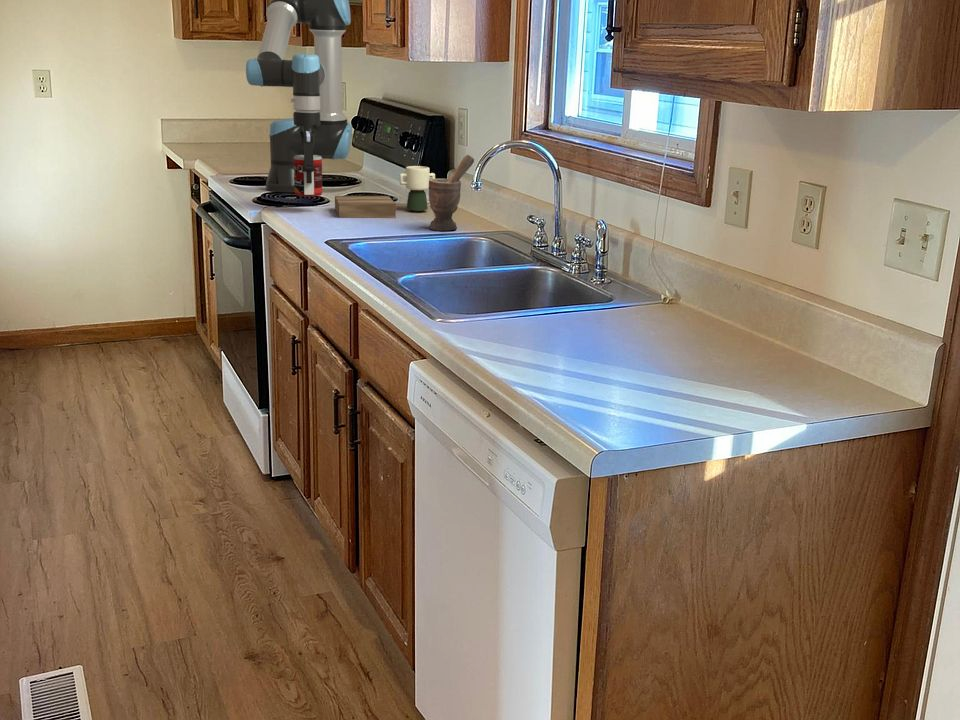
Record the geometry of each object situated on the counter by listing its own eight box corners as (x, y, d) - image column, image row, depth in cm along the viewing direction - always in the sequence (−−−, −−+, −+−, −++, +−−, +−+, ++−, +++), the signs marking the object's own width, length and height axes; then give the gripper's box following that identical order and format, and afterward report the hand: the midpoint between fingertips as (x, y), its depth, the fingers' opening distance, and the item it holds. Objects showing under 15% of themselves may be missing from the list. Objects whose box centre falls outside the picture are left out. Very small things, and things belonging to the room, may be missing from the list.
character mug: (430, 209, 304) (431, 165, 300) (438, 212, 298) (438, 168, 294) (396, 210, 301) (396, 166, 297) (402, 213, 294) (403, 168, 290)
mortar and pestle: (461, 225, 277) (463, 152, 272) (475, 230, 270) (477, 155, 264) (423, 227, 272) (424, 152, 266) (436, 232, 265) (437, 155, 259)
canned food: (291, 193, 292) (290, 154, 289) (318, 192, 296) (317, 154, 292) (298, 197, 286) (297, 158, 282) (325, 196, 289) (325, 157, 286)
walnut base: (335, 209, 298) (334, 195, 297) (388, 209, 301) (388, 195, 300) (339, 217, 283) (339, 203, 282) (395, 217, 286) (395, 203, 285)
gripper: (291, 108, 292) (293, 186, 299) (294, 114, 273) (296, 197, 280) (318, 108, 294) (319, 186, 301) (322, 114, 275) (323, 197, 282)
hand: (308, 192), depth 290 cm, fingers closed on canned food, 8 cm apart
